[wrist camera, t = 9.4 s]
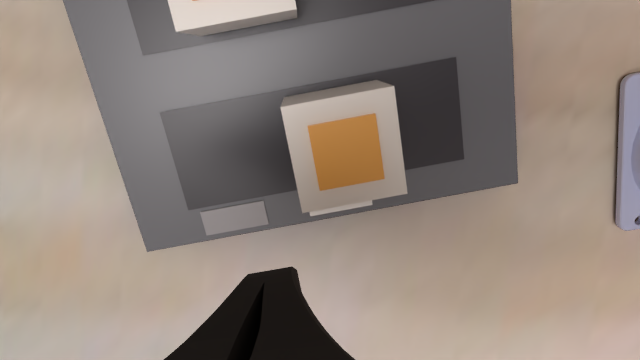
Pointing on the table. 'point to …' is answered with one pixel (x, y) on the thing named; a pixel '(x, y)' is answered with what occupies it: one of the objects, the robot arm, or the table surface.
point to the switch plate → (287, 80)
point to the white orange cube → (227, 14)
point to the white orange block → (345, 145)
